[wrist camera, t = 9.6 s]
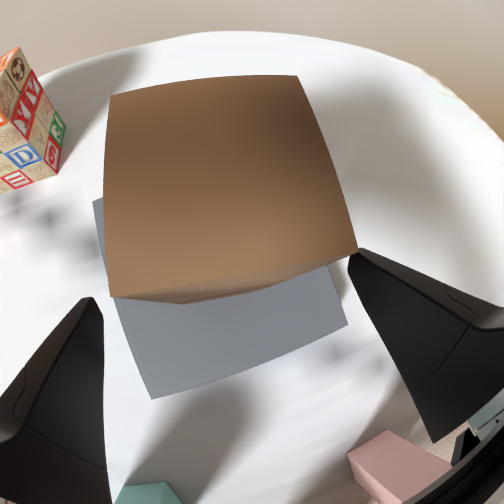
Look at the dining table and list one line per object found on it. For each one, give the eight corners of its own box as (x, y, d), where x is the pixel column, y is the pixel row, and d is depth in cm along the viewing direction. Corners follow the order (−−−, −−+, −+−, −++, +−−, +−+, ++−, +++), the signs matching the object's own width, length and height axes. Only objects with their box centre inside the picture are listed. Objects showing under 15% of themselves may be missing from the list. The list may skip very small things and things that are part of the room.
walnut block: (256, 291, 17) (358, 251, 5) (185, 304, 16) (110, 296, 4) (242, 223, 18) (297, 75, 6) (174, 234, 17) (110, 95, 5)
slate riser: (330, 322, 20) (348, 324, 17) (160, 387, 18) (151, 399, 15) (267, 164, 22) (274, 145, 19) (106, 215, 19) (92, 201, 17)
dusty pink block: (392, 457, 18) (473, 505, 6) (355, 480, 17) (426, 545, 5) (386, 429, 19) (479, 476, 7) (346, 453, 18) (429, 522, 6)
